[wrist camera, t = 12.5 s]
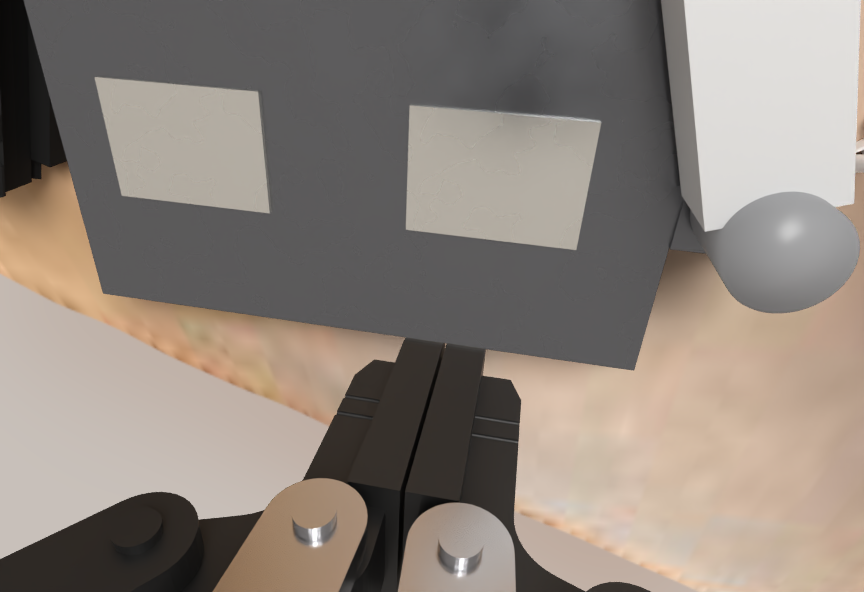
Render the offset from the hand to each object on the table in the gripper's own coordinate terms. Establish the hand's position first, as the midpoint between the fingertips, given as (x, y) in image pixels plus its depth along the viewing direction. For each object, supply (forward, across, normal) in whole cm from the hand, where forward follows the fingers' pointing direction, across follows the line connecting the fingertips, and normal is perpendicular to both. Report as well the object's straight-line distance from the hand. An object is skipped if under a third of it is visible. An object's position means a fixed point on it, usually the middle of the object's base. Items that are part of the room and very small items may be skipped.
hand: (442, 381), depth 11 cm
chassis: (+17, +4, 0) cm, 17 cm away
